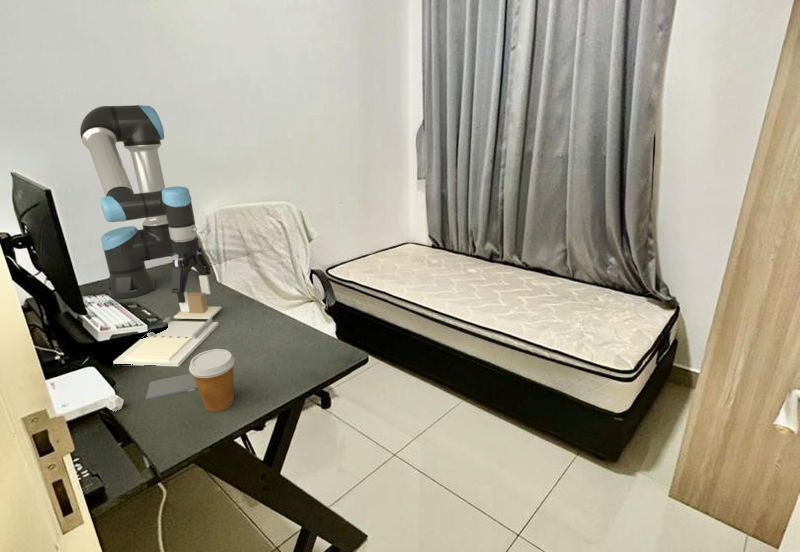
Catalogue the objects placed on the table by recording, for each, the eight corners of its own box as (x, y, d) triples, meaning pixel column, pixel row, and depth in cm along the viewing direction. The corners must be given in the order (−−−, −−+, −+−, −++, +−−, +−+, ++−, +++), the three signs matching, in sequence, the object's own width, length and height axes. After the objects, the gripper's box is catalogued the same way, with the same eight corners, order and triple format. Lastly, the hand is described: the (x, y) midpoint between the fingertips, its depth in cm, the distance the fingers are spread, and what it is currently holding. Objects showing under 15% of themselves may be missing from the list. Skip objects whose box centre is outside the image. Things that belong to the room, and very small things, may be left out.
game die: (104, 410, 104) (100, 399, 103) (120, 402, 107) (117, 391, 106) (112, 415, 102) (109, 404, 101) (129, 406, 105) (125, 395, 104)
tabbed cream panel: (186, 307, 153) (183, 289, 150) (221, 308, 152) (218, 290, 149) (174, 318, 145) (169, 299, 143) (210, 319, 144) (207, 299, 142)
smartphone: (149, 381, 114) (213, 368, 119) (150, 384, 114) (213, 371, 119) (144, 398, 107) (212, 384, 112) (145, 402, 108) (213, 387, 112)
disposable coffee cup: (249, 402, 106) (241, 357, 102) (209, 422, 99) (200, 375, 95) (228, 386, 112) (220, 343, 108) (189, 405, 105) (180, 360, 101)
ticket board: (163, 323, 145) (162, 317, 144) (218, 324, 143) (217, 318, 142) (113, 364, 122) (111, 357, 121) (178, 366, 121) (177, 358, 120)
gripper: (174, 251, 128) (188, 319, 135) (214, 228, 151) (224, 287, 159) (148, 251, 128) (164, 319, 136) (192, 227, 151) (203, 287, 159)
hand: (196, 302), depth 147 cm, fingers open, 13 cm apart
